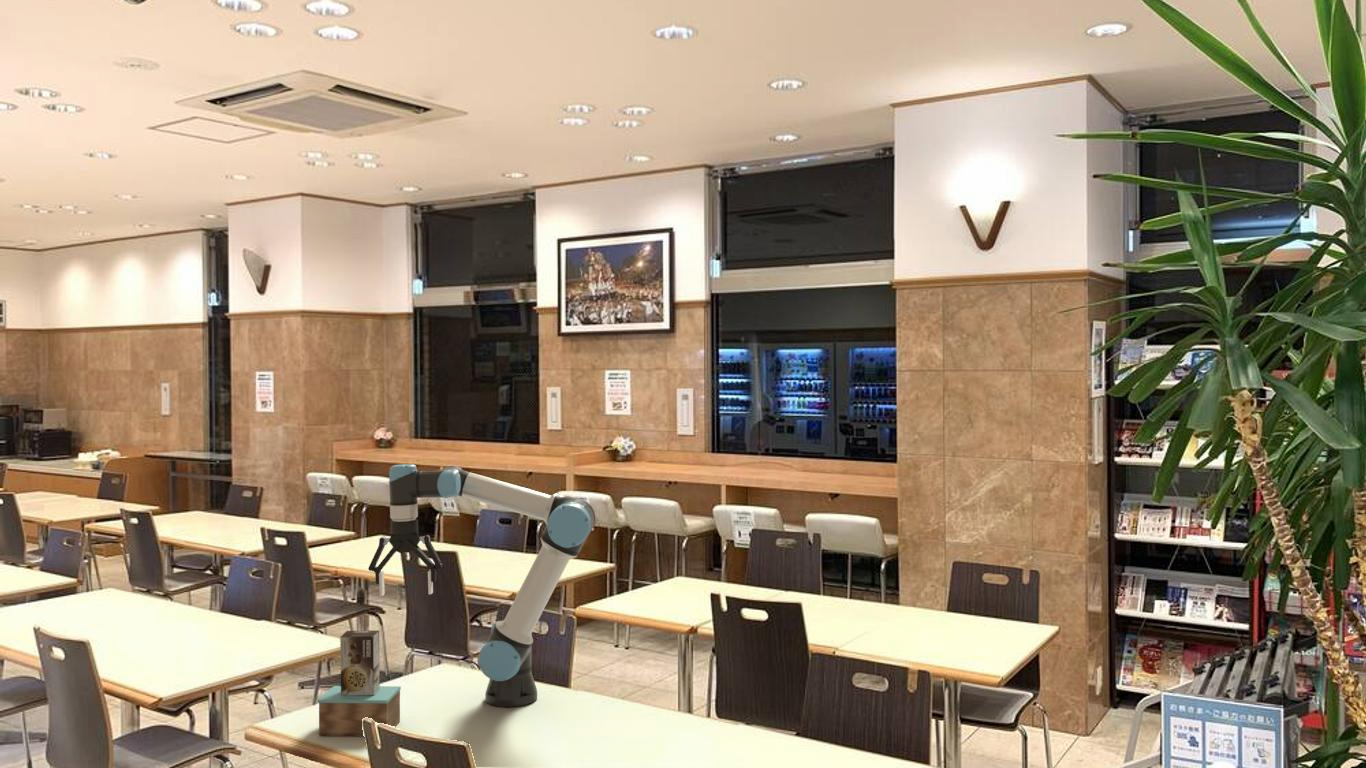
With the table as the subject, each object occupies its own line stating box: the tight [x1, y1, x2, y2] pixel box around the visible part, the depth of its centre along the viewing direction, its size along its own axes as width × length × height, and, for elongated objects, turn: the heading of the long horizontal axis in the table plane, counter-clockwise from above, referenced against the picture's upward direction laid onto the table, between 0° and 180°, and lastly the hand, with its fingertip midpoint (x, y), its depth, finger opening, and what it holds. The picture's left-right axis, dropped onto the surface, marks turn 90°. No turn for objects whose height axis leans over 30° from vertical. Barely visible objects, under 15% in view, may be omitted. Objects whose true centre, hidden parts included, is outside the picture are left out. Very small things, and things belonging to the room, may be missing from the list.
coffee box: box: [339, 629, 381, 696], centre depth 283 cm, size 9×6×16 cm
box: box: [318, 690, 401, 738], centre depth 283 cm, size 18×12×9 cm, turn 89°
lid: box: [317, 685, 401, 704], centre depth 283 cm, size 18×12×1 cm
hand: (406, 594), depth 296 cm, fingers open, 13 cm apart
